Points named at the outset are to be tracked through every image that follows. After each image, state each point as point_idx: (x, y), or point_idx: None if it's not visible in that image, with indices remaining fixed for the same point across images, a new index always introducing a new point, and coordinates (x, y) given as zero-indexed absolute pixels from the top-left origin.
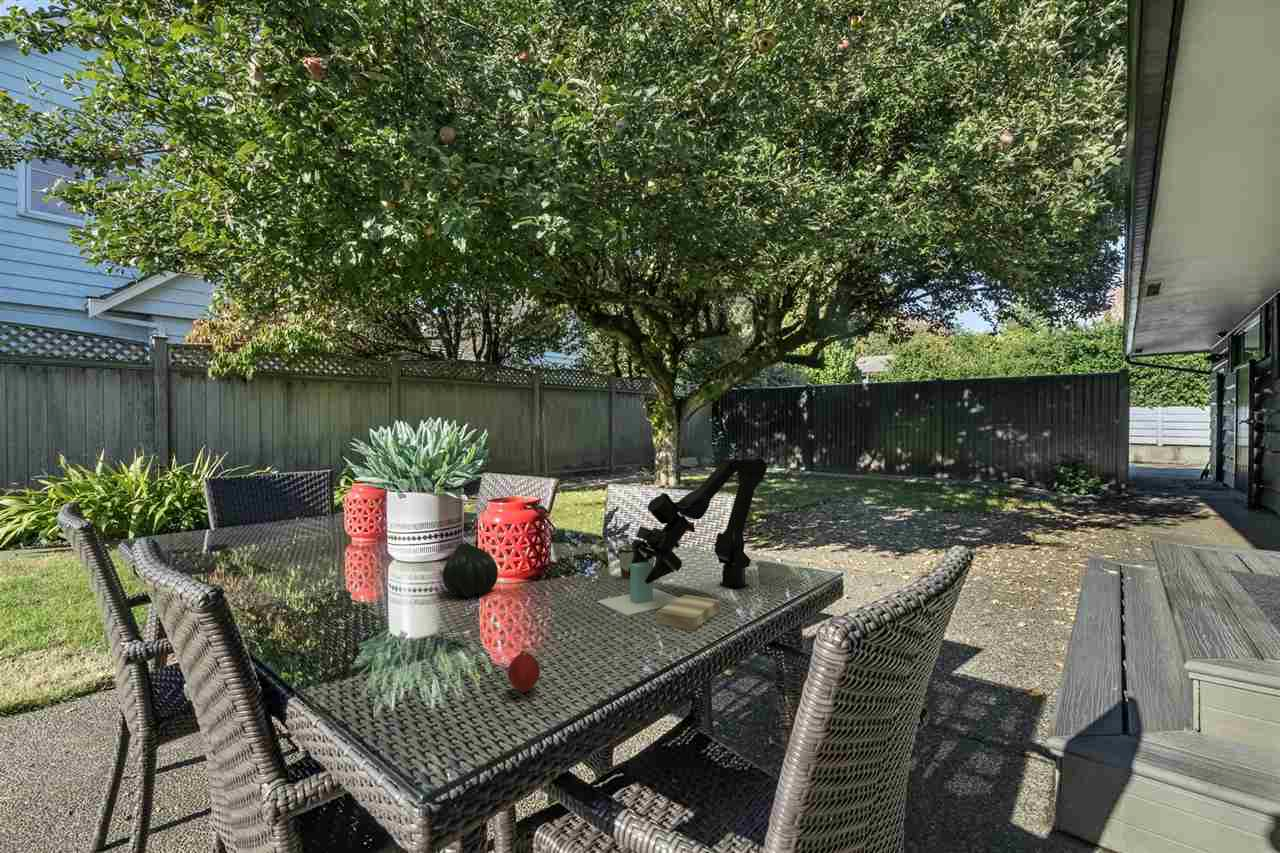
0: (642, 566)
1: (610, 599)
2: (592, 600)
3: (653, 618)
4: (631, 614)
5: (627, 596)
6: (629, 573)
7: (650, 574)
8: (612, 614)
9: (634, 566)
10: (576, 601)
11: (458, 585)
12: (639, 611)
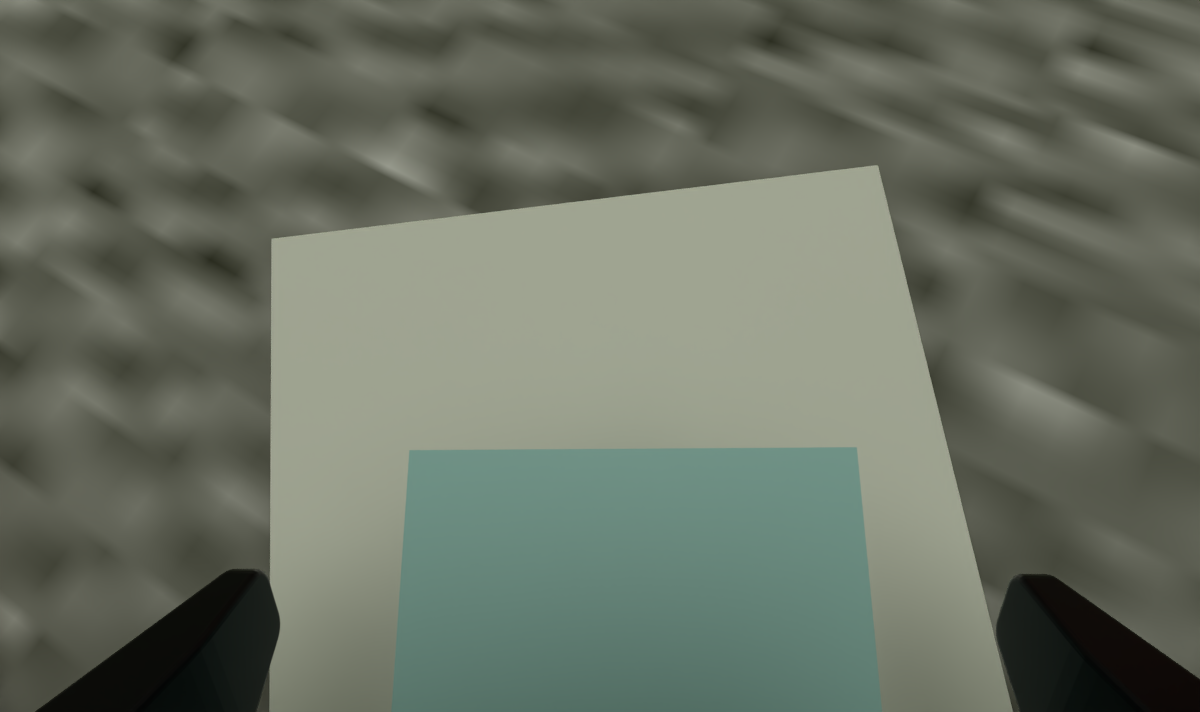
0: (400, 689)
1: (869, 329)
2: (977, 172)
3: (46, 459)
4: (275, 296)
5: (898, 591)
6: (1020, 608)
7: (50, 703)
8: (427, 151)
9: (575, 455)
10: (1012, 21)
11: None
12: (279, 410)
